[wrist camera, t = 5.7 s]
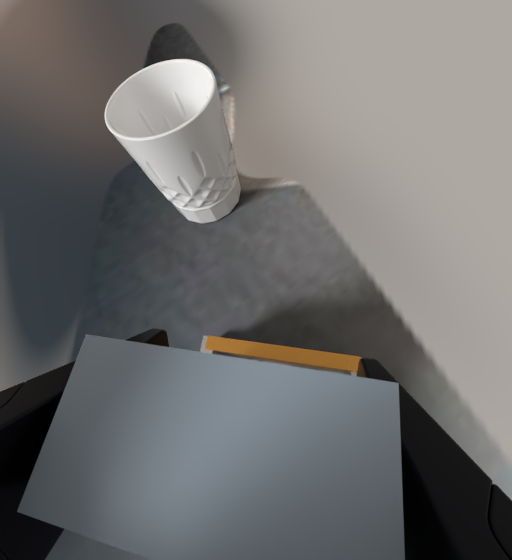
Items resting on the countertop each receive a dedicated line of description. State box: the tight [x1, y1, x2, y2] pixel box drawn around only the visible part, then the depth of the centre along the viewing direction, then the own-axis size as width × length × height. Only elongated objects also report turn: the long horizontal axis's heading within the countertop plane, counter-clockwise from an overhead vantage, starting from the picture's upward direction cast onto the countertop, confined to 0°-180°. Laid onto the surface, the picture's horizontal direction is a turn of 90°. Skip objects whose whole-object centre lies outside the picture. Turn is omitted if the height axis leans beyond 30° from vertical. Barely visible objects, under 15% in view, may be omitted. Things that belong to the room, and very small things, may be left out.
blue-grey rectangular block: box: [17, 334, 405, 560], centre depth 9 cm, size 3×6×10 cm, turn 82°
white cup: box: [105, 59, 241, 223], centre depth 22 cm, size 8×8×10 cm
